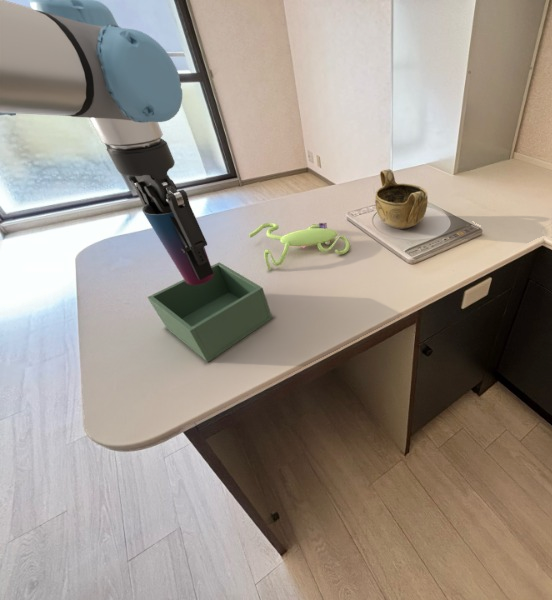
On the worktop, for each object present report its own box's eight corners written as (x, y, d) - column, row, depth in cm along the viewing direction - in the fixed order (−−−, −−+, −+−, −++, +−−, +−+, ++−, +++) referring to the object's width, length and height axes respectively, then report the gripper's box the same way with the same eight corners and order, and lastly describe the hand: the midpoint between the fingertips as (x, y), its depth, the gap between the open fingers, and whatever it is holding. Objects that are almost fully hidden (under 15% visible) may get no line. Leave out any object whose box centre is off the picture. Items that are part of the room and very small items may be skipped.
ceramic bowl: (363, 215, 114) (361, 172, 104) (405, 206, 120) (407, 164, 111) (394, 245, 99) (395, 198, 90) (440, 233, 106) (445, 188, 96)
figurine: (251, 240, 99) (246, 223, 95) (337, 225, 108) (335, 209, 104) (257, 273, 86) (251, 256, 83) (353, 254, 95) (352, 237, 91)
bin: (207, 362, 64) (189, 331, 58) (166, 328, 71) (147, 297, 65) (272, 318, 74) (262, 287, 68) (231, 292, 80) (219, 262, 75)
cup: (225, 274, 65) (197, 203, 55) (193, 292, 60) (156, 218, 51) (205, 263, 67) (174, 193, 58) (172, 280, 63) (133, 207, 53)
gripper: (196, 148, 46) (243, 278, 61) (132, 125, 54) (188, 245, 69) (139, 161, 41) (205, 299, 56) (78, 134, 49) (151, 261, 64)
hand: (195, 269), depth 63 cm, fingers closed on cup, 6 cm apart
